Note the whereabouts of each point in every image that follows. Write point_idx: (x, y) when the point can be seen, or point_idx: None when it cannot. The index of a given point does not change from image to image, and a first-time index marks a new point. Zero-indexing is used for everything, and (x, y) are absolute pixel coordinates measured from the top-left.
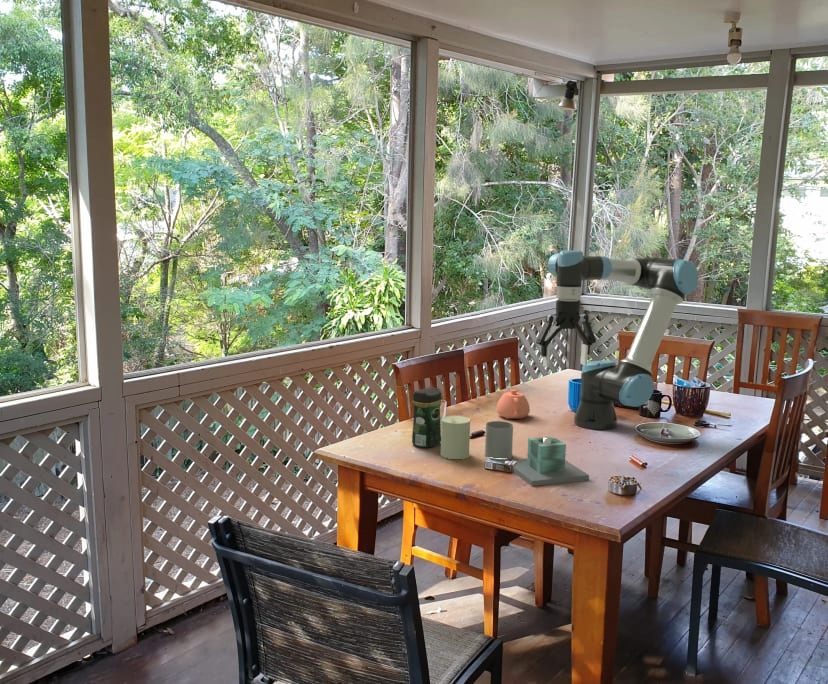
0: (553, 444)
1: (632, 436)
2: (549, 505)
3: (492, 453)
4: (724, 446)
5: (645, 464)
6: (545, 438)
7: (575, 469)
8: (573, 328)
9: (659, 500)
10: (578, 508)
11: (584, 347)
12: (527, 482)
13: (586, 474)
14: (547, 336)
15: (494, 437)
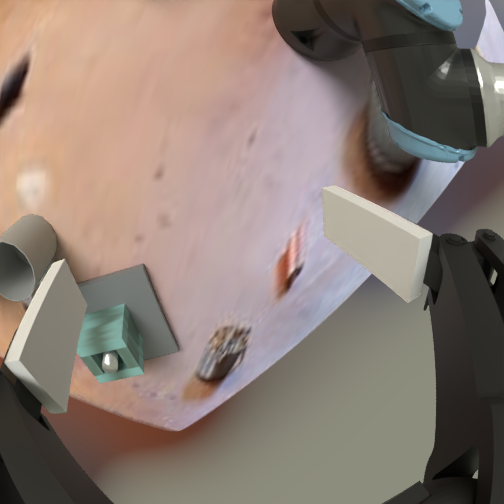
0: (121, 375)
1: (352, 114)
2: (118, 404)
3: (22, 266)
4: (432, 192)
5: (296, 274)
6: (106, 370)
7: (162, 332)
8: (480, 412)
9: (246, 384)
10: (149, 408)
11: (398, 274)
12: None
13: (175, 349)
14: (18, 465)
15: (12, 286)
